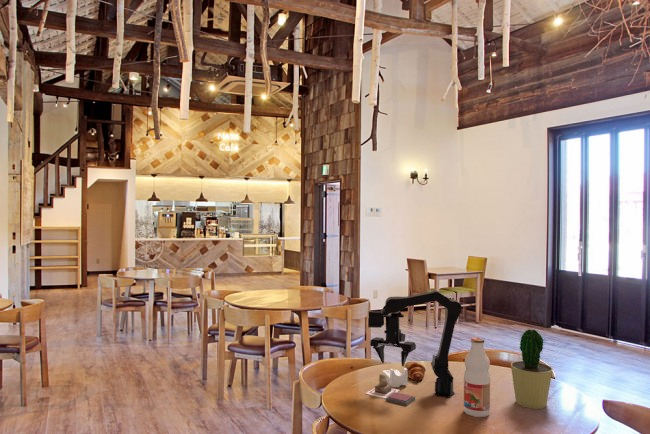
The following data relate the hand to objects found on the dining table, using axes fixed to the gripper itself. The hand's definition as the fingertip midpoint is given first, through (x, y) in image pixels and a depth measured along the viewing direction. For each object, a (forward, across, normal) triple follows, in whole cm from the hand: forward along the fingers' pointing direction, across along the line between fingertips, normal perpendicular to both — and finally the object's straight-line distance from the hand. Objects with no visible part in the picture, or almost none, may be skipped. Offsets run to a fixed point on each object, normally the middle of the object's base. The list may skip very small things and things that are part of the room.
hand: (392, 364), depth 210 cm
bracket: (+12, +5, -12) cm, 18 cm away
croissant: (+12, +2, -26) cm, 29 cm away
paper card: (+11, +4, +3) cm, 12 cm away
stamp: (+11, +4, +3) cm, 12 cm away
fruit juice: (+12, -36, +2) cm, 38 cm away
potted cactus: (+13, -51, -20) cm, 56 cm away
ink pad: (+12, -6, +7) cm, 15 cm away
